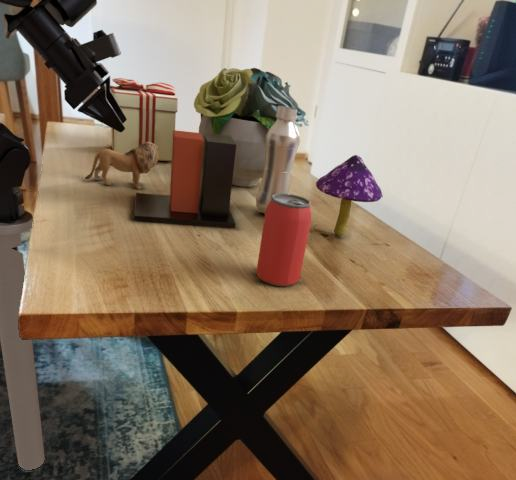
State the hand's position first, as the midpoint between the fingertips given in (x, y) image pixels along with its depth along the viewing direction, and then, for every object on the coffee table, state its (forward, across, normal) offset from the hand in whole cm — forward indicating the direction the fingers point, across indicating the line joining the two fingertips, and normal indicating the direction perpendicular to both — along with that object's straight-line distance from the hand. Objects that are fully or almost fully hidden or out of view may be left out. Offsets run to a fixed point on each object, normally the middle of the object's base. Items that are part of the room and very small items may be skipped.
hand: (124, 125), depth 90 cm
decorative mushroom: (+38, -10, -19) cm, 44 cm away
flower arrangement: (+28, +22, -9) cm, 37 cm away
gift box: (+11, +43, +8) cm, 45 cm away
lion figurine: (+10, +12, +10) cm, 18 cm away
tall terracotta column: (+17, -4, +1) cm, 17 cm away
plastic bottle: (+30, 0, -11) cm, 32 cm away
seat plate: (+18, -4, +2) cm, 18 cm away
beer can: (+26, -32, -7) cm, 42 cm away
